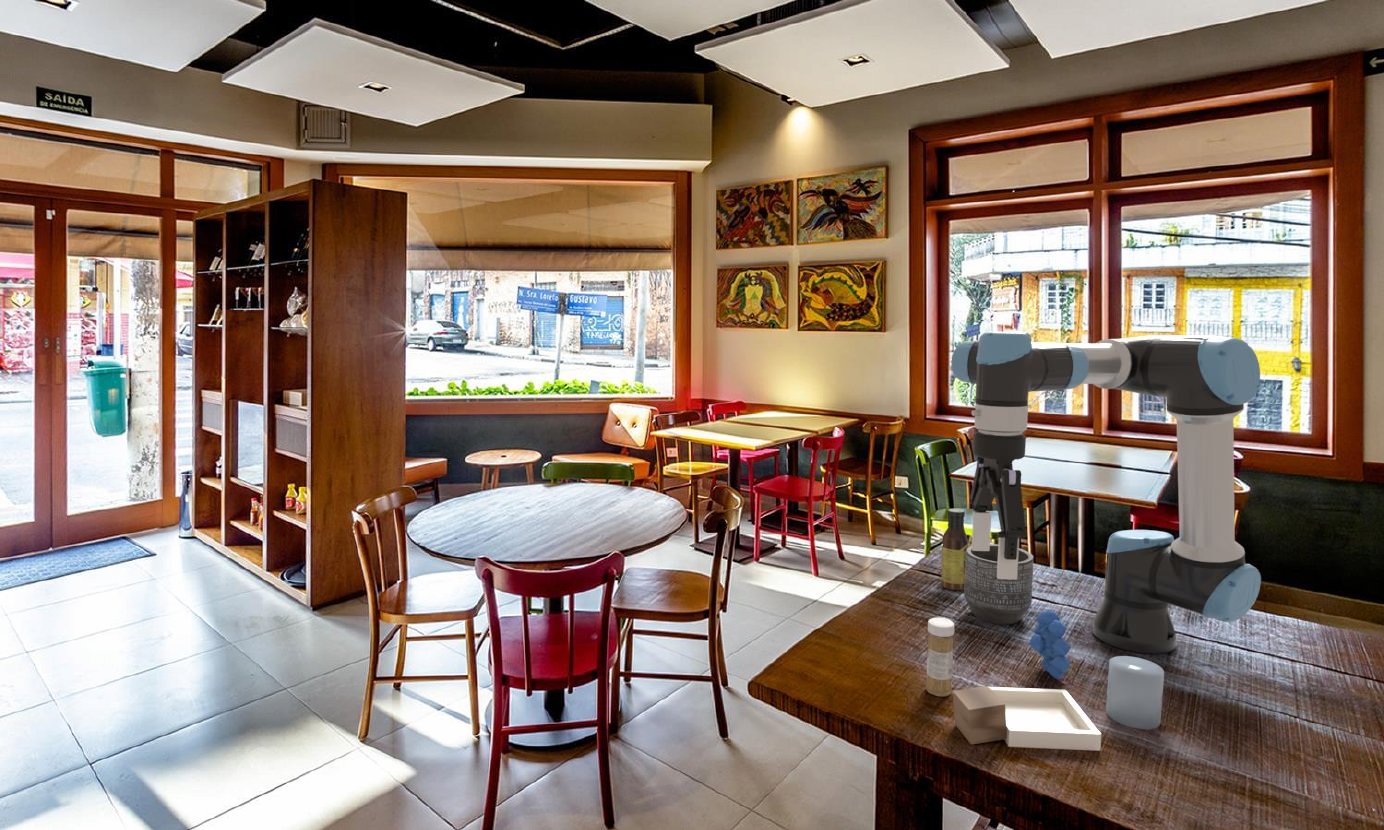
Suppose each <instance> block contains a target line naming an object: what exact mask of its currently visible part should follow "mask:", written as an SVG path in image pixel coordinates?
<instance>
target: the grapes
mask: <svg viewBox="0 0 1384 830" xmlns="http://www.w3.org/2000/svg"><path fill="white" fill-rule="evenodd" d="M1035 621H1036V622H1037V623H1038V624H1037V625H1036V627H1035V629H1034V630H1033V631H1034V632H1033V633H1034V635H1032V636H1031V638H1030V640H1029V642H1028V644H1029V646H1030V647H1031V649H1032V650H1034V651H1035V652H1037V653H1038V654H1039V656H1041V657H1042V658H1043V659H1042V660H1041V663H1040V665H1041V667H1042V668H1043V669H1044V670H1045V671H1046V672H1047V673H1049V674H1050V676H1052V677H1053V678H1054V679H1055V680H1056V679H1057V680H1060V679H1062V678H1063V676H1064V675H1065V672H1067V671H1068V669H1069V668H1070V666H1071V662H1070V660H1068V658H1067V657H1066V656H1067V655H1068V653H1069V652H1070V650H1071V645H1070V644H1069V643H1068V641H1067V640H1066V639H1064V638H1063V637H1064V635H1065V633H1066V631H1067V628H1066V626H1065V624H1063V623H1062V622H1061V621H1060V617H1059V616H1058V614H1057V613H1056V612H1055V611H1053V610H1052V609H1047V610H1042V611H1041V612H1040V613H1039V614H1038V615H1037V618H1036V620H1035Z"/></svg>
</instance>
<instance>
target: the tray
mask: <svg viewBox="0 0 1384 830" xmlns="http://www.w3.org/2000/svg"><path fill="white" fill-rule="evenodd" d="M988 687H989V688H990V689H991V690H992V691H993V692H994V693H995V694H996V695H997V696H998V697H999V698H1000V699H1001V700H1002V702H1003V703H1004V704H1005V710H1006V728H1007V739H1003V740H1004V741H1005V743H1006V744H1007V747H1009V748H1028V749H1029V748H1031V749H1052V750H1053V749H1055V750H1072V751H1073V750H1075V751H1097V752H1100V751H1101V745H1102V744H1101V743H1102V733H1101V732H1100V731H1099V729H1098V728H1097V726H1096V725H1094V723H1093V722H1092V721H1091V719H1090V718H1089V717H1088V716H1087V715H1086V713H1085V712H1084V710H1082V708H1081V707H1080V705H1078V703H1077V702H1076V701H1075V699H1074V698H1073V697H1072V695H1070V693H1069V692H1068V691H1067V689H1056V688H1055V689H1054V688H1029V687H1027V688H1025V687H1006V686H1005V687H1003V686H1002V687H1001V686H988Z"/></svg>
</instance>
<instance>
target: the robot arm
mask: <svg viewBox="0 0 1384 830" xmlns="http://www.w3.org/2000/svg"><path fill="white" fill-rule="evenodd" d="M950 361H951V363H950V364H951V365H950V367H951V371H952V373H953V376H954V377H955V378H956V379H958V380H959V381H961V382H963V383H969V384H971V385H976V386H975V407H974V408H975V409H974V410H973V409H972V410H971V415H972V416H973V417H974V428H975V429H977V430H976V431H974V433H973V443H972V445H973V446H972V454H973V455H974V456H975V457H976V459H977V460H976V468H975V473H974V478H973V482H972V486H971V491H970V492H971V493H970V496H969V501H968V502H969V504H970V505H972V506H971V508H972V511H973V513H972V515H973V516H972V533H971V546H972V550H973V551H990V544H991V528H992V512H994V507H993V504H992V503H993V501H994V498H995V504H996V509H997V514H998V515H997V516H998V521H999V527H1000V531H998V533H997V534H996V537H997V538H998V562H997V578H998V579H1013V580H1017V571H1018V553H1019V548H1020V538H1026V536H1027V531H1026V529H1027V528H1026V521H1025V513H1024V512H1025V511H1024V502H1023V493H1022V471H1021V470H1019V469H1014V468H1013V462H1014V461H1015V460H1022V459H1024V457H1025V455H1026V443H1027V441H1026V440H1027V436H1026V435H1025V433H1024V432H1026V430H1028V413H1029V393H1031V392H1049V391H1050V392H1051V391H1058V392H1063V391H1066V390H1071V389H1072V390H1073V389H1075V388H1077V387H1079V386H1081V385H1088V384H1089V385H1094V386H1095V387H1098V388H1100V389H1103V390H1104V389H1105V390H1110V389H1111V390H1120V391H1124V392H1130V393H1137V394H1141V395H1147V396H1152V397H1162V398H1166V412H1167V413H1168V414H1170V415H1171V416H1172V417H1173V418H1175V420H1176V448H1177V449H1176V450H1177V483H1178V484H1177V487H1178V488H1177V489H1178V519H1179V521H1178V522H1179V523H1178V524H1179V527H1178V528H1179V537H1177V538H1176V539H1174V535H1172V534H1171V533H1169V532H1165V531H1162V530H1161V531H1159V530H1153V529H1152V530H1149V529H1127V530H1118V531H1116V532H1114V533H1112V534H1111V535H1110V536H1109V538H1108V542H1107V548H1106V551H1105V553H1106V561H1105V575H1104V576H1105V577H1104V579H1105V581H1104V595H1103V600H1102V602H1101V604H1100V605H1099V608H1098V610H1097V612H1096V614H1095V616H1094V618H1093V621H1092V633H1093V635H1094V636H1095V637H1096V638H1097V639H1099V640H1100V641H1102V642H1104V643H1105V644H1108V645H1109V646H1113V647H1115V648H1118V649H1121V650H1124V651H1125V650H1126V651H1129V652H1135V653H1139V654H1166V653H1169V652H1172V651H1174V650H1175V649H1176V646H1177V644H1176V643H1177V642H1176V641H1177V634H1176V630H1175V628H1174V624H1173V621H1172V617H1171V614H1170V610H1169V606H1170V605H1172V606H1174V607H1178V608H1180V609H1184V610H1186V611H1188V612H1191V613H1194V614H1197V615H1200V616H1203V617H1204V618H1206V619H1213V620H1216V621H1220V622H1223V623H1232V622H1234V623H1235V622H1237V621H1239V620H1241V618H1243V617H1245V615H1246V614H1248V613H1249V611H1250V610H1251V608H1252V607H1253V605H1254V604H1255V602H1256V600H1257V598H1258V596H1259V593H1260V589H1261V583H1262V576H1261V573H1260V571H1259V569H1257V567H1255V566H1253V565H1251V564H1250V563H1246V558H1245V557H1246V552H1245V548H1244V547H1243V546H1242V545H1241V544H1240V543H1239V542H1237V541H1236V540H1235V539H1236V538H1235V531H1236V530H1235V458H1234V457H1235V456H1234V455H1235V453H1234V452H1235V448H1234V446H1235V444H1234V443H1235V441H1234V438H1235V437H1234V434H1235V433H1234V419H1235V418H1236V417H1237V416H1238V415H1240V413H1242V412H1243V411H1244V410H1245V409H1244V408H1245V405H1244V404H1246V403H1249V402H1250V401H1252V400H1253V398H1254V397H1255V395H1256V394H1257V392H1258V388H1257V387H1258V386H1259V385H1260V381H1261V367H1260V363H1259V362H1260V361H1259V359H1258V356H1257V354H1256V352H1255V350H1254V349H1253V347H1251V346H1249V344H1248V343H1247V342H1246V341H1244V340H1243V339H1240V338H1236V337H1228V336H1221V335H1220V336H1219V335H1215V334H1214V335H1165V334H1155V335H1153V334H1152V335H1144V336H1143V335H1142V336H1136V337H1135V336H1134V337H1128V338H1126V337H1125V338H1110V339H1109V338H1106V339H1101V340H1099V341H1097V342H1096V343H1095V342H1094V343H1074V342H1073V343H1070V342H1069V343H1068V342H1067V343H1065V342H1032V336H1031V334H1030V333H1029V332H1026V331H986V332H984V333H982V334H981V335H980V336H979V340H977V339H976V340H974V341H973V340H971V341H969V340H967V341H963V342H961V343H960V344H958V345H957V347H956V348H955V349H954V350H953V353H952V354H951V360H950Z"/></svg>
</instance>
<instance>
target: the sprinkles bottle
mask: <svg viewBox="0 0 1384 830" xmlns="http://www.w3.org/2000/svg"><path fill="white" fill-rule="evenodd" d="M927 631H928V641H927V657H926V685H925V688H926V689H925V690H926V691H927V692H928V693H929V694H931V695H933V696H936V697H948V696H950V695H951V694H952V692H953V691H952V677H953V662H954V661H953V660H954V659H953V658H954V657H953V656H954V655H953V654H954V647H953V646H954V636H955V623H954V621H952V620H951V619H949V618H946V617H945V618H944V617H932V618H930V619H928V621H927Z"/></svg>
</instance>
